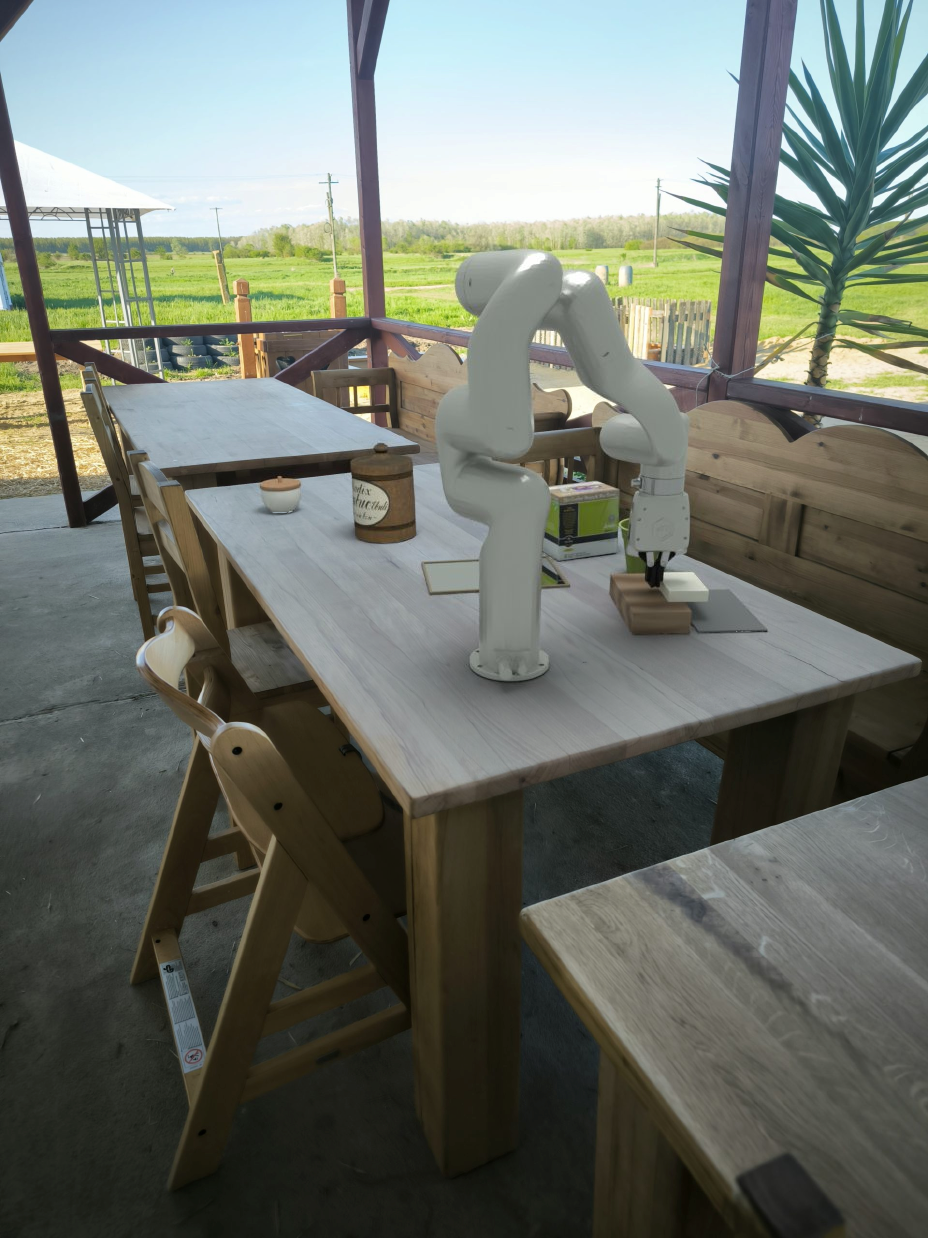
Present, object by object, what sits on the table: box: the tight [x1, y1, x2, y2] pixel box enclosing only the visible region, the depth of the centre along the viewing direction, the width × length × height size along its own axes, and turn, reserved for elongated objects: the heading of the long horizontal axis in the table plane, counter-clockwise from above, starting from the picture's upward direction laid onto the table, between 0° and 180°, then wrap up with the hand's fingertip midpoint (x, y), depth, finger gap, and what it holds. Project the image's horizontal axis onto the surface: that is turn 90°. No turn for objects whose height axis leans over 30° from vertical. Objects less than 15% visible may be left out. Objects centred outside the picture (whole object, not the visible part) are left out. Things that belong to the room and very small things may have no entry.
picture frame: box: [420, 554, 571, 596], centre depth 169 cm, size 19×1×28 cm
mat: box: [685, 588, 768, 634], centre depth 149 cm, size 20×12×1 cm, turn 2°
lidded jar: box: [259, 475, 302, 513], centre depth 217 cm, size 11×11×9 cm
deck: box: [608, 573, 692, 635], centre depth 148 cm, size 20×10×4 cm, turn 2°
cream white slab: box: [659, 571, 710, 602], centre depth 147 cm, size 10×7×2 cm
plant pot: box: [618, 518, 667, 574], centre depth 165 cm, size 12×12×11 cm
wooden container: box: [350, 442, 417, 544], centre depth 193 cm, size 15×15×22 cm
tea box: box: [543, 480, 621, 562], centre depth 180 cm, size 15×10×15 cm
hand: (653, 584), depth 147 cm, fingers closed
